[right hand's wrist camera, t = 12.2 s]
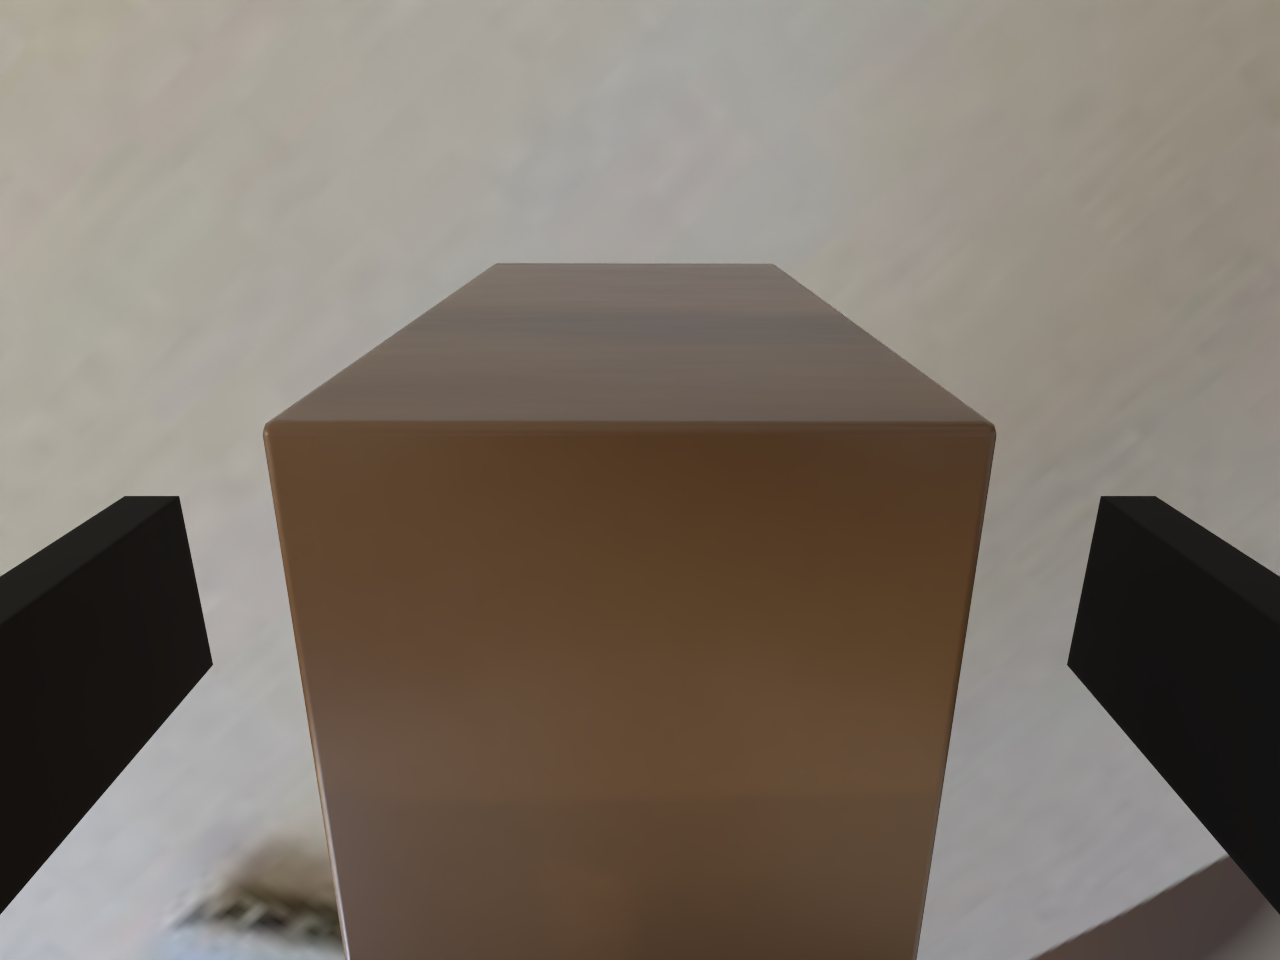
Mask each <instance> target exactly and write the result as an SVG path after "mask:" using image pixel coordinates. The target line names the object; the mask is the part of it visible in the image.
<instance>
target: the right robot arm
mask: <svg viewBox="0 0 1280 960" xmlns="http://www.w3.org/2000/svg"><path fill="white" fill-rule="evenodd" d="M212 665H213V663H212V658H211V653H210V648H209V643H208V638H207V633H206V628H205V623H204V618H203V613H202V608H201V603H200V598H199V593H198V588H197V583H196V578H195V573H194V568H193V563H192V558H191V553H190V548H189V543H188V538H187V533H186V528H185V523H184V519H183V514H182V509H181V504H180V499H179V496H124V497H123V498H121V499H120V500H118V501H117V502H115V503H114V504H112V505H110V506H109V507H107V508H106V509H104V510H103V511H101V512H100V513H98V514H97V515H95V516H93V517H92V518H90V519H89V520H87V521H86V522H84V523H83V524H81V525H80V526H78V527H76V528H75V529H73V530H72V531H70V532H69V533H67V534H66V535H64V536H63V537H61V538H59V539H58V540H56V541H55V542H53V543H52V544H50V545H49V546H47V547H46V548H44V549H42V550H41V551H39V552H38V553H36V554H35V555H33V556H32V557H30V558H29V559H27V560H25V561H24V562H22V563H21V564H19V565H18V566H16V567H15V568H13V569H11V570H10V571H8V572H7V573H5V574H4V575H2V576H1V577H0V914H1V913H2V912H3V911H4V909H5V908H6V907H7V906H8V905H9V904H10V902H11V901H12V900H13V899H14V898H15V897H16V895H17V894H18V893H19V892H20V891H21V890H22V888H23V887H24V886H25V885H26V884H27V882H28V881H29V880H30V879H31V878H32V877H33V875H34V874H35V873H36V872H37V871H38V870H39V868H40V867H41V866H42V865H43V864H44V863H45V861H46V860H47V859H48V858H49V857H50V855H51V854H52V853H53V852H54V851H55V850H56V848H57V847H58V846H59V845H60V844H61V843H62V841H63V840H64V839H65V838H66V837H67V835H68V834H69V833H70V832H71V831H72V830H73V828H74V827H75V826H76V825H77V824H78V823H79V821H80V820H81V819H82V818H83V817H84V816H85V814H86V813H87V812H88V811H89V810H90V808H91V807H92V806H93V805H94V804H95V803H96V801H97V800H98V799H99V798H100V797H101V796H102V794H103V793H104V792H105V791H106V790H107V789H108V787H109V786H110V785H111V784H112V783H113V781H114V780H115V779H116V778H117V777H118V776H119V774H120V773H121V772H122V771H123V770H124V769H125V767H126V766H127V765H128V764H129V763H130V761H131V760H132V759H133V758H134V757H135V756H136V754H137V753H138V752H139V751H140V750H141V749H142V747H143V746H144V745H145V744H146V743H147V742H148V740H149V739H150V738H151V737H152V736H153V734H154V733H155V732H156V731H157V730H158V729H159V727H160V726H161V725H162V724H163V723H164V722H165V720H166V719H167V718H168V717H169V716H170V715H171V713H172V712H173V711H174V710H175V709H176V707H177V706H178V705H179V704H180V703H181V702H182V700H183V699H184V698H185V697H186V696H187V695H188V693H189V692H190V691H191V690H192V689H193V687H194V686H195V685H196V684H197V683H198V682H199V680H200V679H201V678H202V677H203V676H204V675H205V673H206V672H207V671H208V670H209V669H210V668H211V666H212ZM1067 665H1068V666H1069V668H1070V669H1071V670H1072V671H1073V672H1074V673H1075V675H1076V676H1077V677H1078V678H1079V679H1080V680H1081V682H1082V683H1083V684H1084V685H1085V686H1086V687H1087V689H1088V690H1089V691H1090V692H1091V693H1092V695H1093V696H1094V697H1095V698H1096V699H1097V700H1098V702H1099V703H1100V704H1101V705H1102V706H1103V707H1104V709H1105V710H1106V711H1107V712H1108V713H1109V714H1110V716H1111V717H1112V718H1113V719H1114V720H1115V722H1116V723H1117V724H1118V725H1119V726H1120V727H1121V729H1122V730H1123V731H1124V732H1125V733H1126V734H1127V736H1128V737H1129V738H1130V739H1131V740H1132V742H1133V743H1134V744H1135V745H1136V746H1137V747H1138V749H1139V750H1140V751H1141V752H1142V753H1143V754H1144V756H1145V757H1146V758H1147V759H1148V760H1149V761H1150V763H1151V764H1152V765H1153V766H1154V767H1155V769H1156V770H1157V771H1158V772H1159V773H1160V774H1161V776H1162V777H1163V778H1164V779H1165V780H1166V781H1167V783H1168V784H1169V785H1170V786H1171V787H1172V788H1173V790H1174V791H1175V792H1176V793H1177V794H1178V796H1179V797H1180V798H1181V799H1182V800H1183V801H1184V803H1185V804H1186V805H1187V806H1188V807H1189V808H1190V810H1191V811H1192V812H1193V813H1194V814H1195V816H1196V817H1197V818H1198V819H1199V820H1200V821H1201V823H1202V824H1203V825H1204V826H1205V827H1206V828H1207V830H1208V831H1209V832H1210V833H1211V834H1212V835H1213V837H1214V838H1215V839H1216V840H1217V841H1218V843H1219V844H1220V845H1221V846H1222V847H1223V848H1224V850H1225V851H1226V852H1227V853H1228V854H1229V855H1230V857H1231V858H1232V859H1233V860H1234V861H1235V862H1236V864H1237V865H1238V866H1239V867H1240V868H1241V870H1242V871H1243V872H1244V873H1245V874H1246V875H1247V877H1248V878H1249V879H1250V880H1251V881H1252V882H1253V884H1254V885H1255V886H1256V887H1257V888H1258V889H1259V891H1260V892H1261V893H1262V894H1263V895H1264V897H1265V898H1266V899H1267V900H1268V901H1269V902H1270V904H1271V905H1272V906H1273V907H1274V908H1275V909H1276V911H1277V912H1278V913H1279V914H1280V577H1279V576H1278V575H1276V574H1275V573H1273V572H1272V571H1270V570H1269V569H1267V568H1265V567H1264V566H1262V565H1261V564H1259V563H1258V562H1256V561H1255V560H1253V559H1252V558H1250V557H1248V556H1247V555H1245V554H1244V553H1242V552H1241V551H1239V550H1238V549H1236V548H1234V547H1233V546H1231V545H1230V544H1228V543H1227V542H1225V541H1224V540H1222V539H1221V538H1219V537H1217V536H1216V535H1214V534H1213V533H1211V532H1210V531H1208V530H1207V529H1205V528H1204V527H1202V526H1200V525H1199V524H1197V523H1196V522H1194V521H1193V520H1191V519H1190V518H1188V517H1187V516H1185V515H1183V514H1182V513H1180V512H1179V511H1177V510H1176V509H1174V508H1173V507H1171V506H1170V505H1168V504H1166V503H1165V502H1163V501H1162V500H1160V499H1159V498H1157V497H1156V496H1101V499H1100V504H1099V509H1098V514H1097V519H1096V524H1095V529H1094V533H1093V538H1092V543H1091V548H1090V553H1089V558H1088V563H1087V568H1086V573H1085V578H1084V583H1083V588H1082V593H1081V598H1080V603H1079V608H1078V613H1077V618H1076V623H1075V628H1074V633H1073V638H1072V643H1071V648H1070V653H1069V658H1068V663H1067Z"/></svg>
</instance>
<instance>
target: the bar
mask: <svg viewBox="0 0 1280 960" xmlns="http://www.w3.org/2000/svg"><path fill="white" fill-rule="evenodd" d="M263 438H264V445H265V451H266V457H267V464H268V470H269V476H270V483H271V489H272V495H273V502H274V508H275V515H276V521H277V527H278V534H279V540H280V546H281V553H282V559H283V565H284V572H285V578H286V585H287V591H288V597H289V604H290V610H291V616H292V623H293V629H294V635H295V642H296V648H297V654H298V661H299V667H300V674H301V680H302V686H303V693H304V699H305V705H306V712H307V718H308V724H309V731H310V737H311V744H312V750H313V756H314V763H315V769H316V775H317V782H318V788H319V794H320V801H321V807H322V813H323V820H324V826H325V833H326V839H327V845H328V852H329V858H330V864H331V871H332V877H333V883H334V890H335V896H336V903H337V909H338V915H339V922H340V928H341V934H342V941H343V947H344V953H345V960H916V959H917V952H918V945H919V939H920V932H921V926H922V919H923V913H924V906H925V900H926V893H927V886H928V880H929V873H930V867H931V860H932V854H933V847H934V841H935V834H936V827H937V821H938V814H939V808H940V801H941V795H942V788H943V782H944V775H945V768H946V762H947V755H948V749H949V742H950V736H951V729H952V723H953V716H954V709H955V703H956V696H957V690H958V683H959V677H960V670H961V664H962V657H963V650H964V644H965V637H966V631H967V624H968V618H969V611H970V605H971V598H972V591H973V585H974V578H975V572H976V565H977V559H978V552H979V546H980V539H981V532H982V526H983V519H984V513H985V506H986V500H987V493H988V487H989V480H990V473H991V467H992V460H993V454H994V447H995V441H996V430H995V427H994V425H993V424H992V423H991V422H989V421H988V420H987V419H985V418H984V417H983V416H981V415H980V414H978V413H977V412H976V411H974V410H973V409H972V408H970V407H969V406H967V405H966V404H965V403H963V402H962V401H961V400H959V399H958V398H956V397H955V396H954V395H952V394H951V393H950V392H948V391H947V390H945V389H944V388H943V387H941V386H940V385H939V384H937V383H936V382H935V381H933V380H932V379H930V378H929V377H928V376H926V375H925V374H924V373H922V372H921V371H919V370H918V369H917V368H915V367H914V366H913V365H911V364H910V363H908V362H907V361H906V360H904V359H903V358H902V357H900V356H899V355H897V354H896V353H895V352H893V351H892V350H891V349H889V348H888V347H887V346H885V345H884V344H882V343H881V342H880V341H878V340H877V339H876V338H874V337H873V336H871V335H870V334H869V333H867V332H866V331H865V330H863V329H862V328H860V327H859V326H858V325H856V324H855V323H854V322H852V321H851V320H849V319H848V318H847V317H845V316H844V315H843V314H841V313H840V312H839V311H837V310H836V309H834V308H833V307H832V306H830V305H829V304H828V303H826V302H825V301H823V300H822V299H821V298H819V297H818V296H817V295H815V294H814V293H812V292H811V291H810V290H808V289H807V288H806V287H804V286H803V285H801V284H800V283H799V282H797V281H796V280H795V279H793V278H792V277H791V276H789V275H788V274H786V273H785V272H784V271H782V270H781V269H780V268H778V267H777V266H775V265H773V264H555V263H497V264H495V265H493V266H492V267H490V268H489V269H487V270H486V271H485V272H483V273H482V274H480V275H479V276H477V277H476V278H474V279H473V280H472V281H470V282H469V283H467V284H466V285H464V286H463V287H462V288H460V289H459V290H457V291H456V292H454V293H453V294H451V295H450V296H449V297H447V298H446V299H444V300H443V301H441V302H440V303H439V304H437V305H436V306H434V307H433V308H431V309H430V310H429V311H427V312H426V313H424V314H423V315H421V316H420V317H418V318H417V319H416V320H414V321H413V322H411V323H410V324H408V325H407V326H406V327H404V328H403V329H401V330H400V331H398V332H397V333H395V334H394V335H393V336H391V337H390V338H388V339H387V340H385V341H384V342H383V343H381V344H380V345H378V346H377V347H375V348H374V349H372V350H371V351H370V352H368V353H367V354H365V355H364V356H362V357H361V358H360V359H358V360H357V361H355V362H354V363H352V364H351V365H350V366H348V367H347V368H345V369H344V370H342V371H341V372H339V373H338V374H337V375H335V376H334V377H332V378H331V379H329V380H328V381H327V382H325V383H324V384H322V385H321V386H319V387H318V388H316V389H315V390H314V391H312V392H311V393H309V394H308V395H306V396H305V397H304V398H302V399H301V400H299V401H298V402H296V403H295V404H293V405H292V406H291V407H289V408H288V409H286V410H285V411H283V412H282V413H281V414H279V415H278V416H276V417H275V418H273V419H272V420H270V421H269V422H268V423H266V424H265V427H264V431H263Z"/></svg>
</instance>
